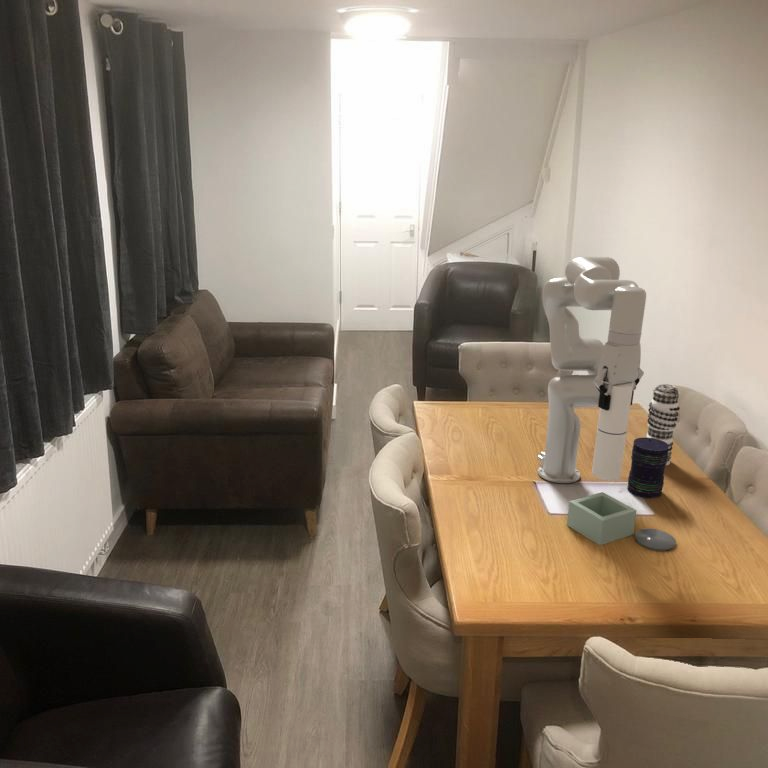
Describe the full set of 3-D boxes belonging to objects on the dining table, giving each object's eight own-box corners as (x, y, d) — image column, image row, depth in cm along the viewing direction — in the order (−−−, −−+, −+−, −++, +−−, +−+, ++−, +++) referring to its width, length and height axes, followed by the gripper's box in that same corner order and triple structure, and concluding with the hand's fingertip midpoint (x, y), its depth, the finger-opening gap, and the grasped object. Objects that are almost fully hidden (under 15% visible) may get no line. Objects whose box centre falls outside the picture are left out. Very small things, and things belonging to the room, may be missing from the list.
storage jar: (664, 500, 224) (671, 452, 219) (628, 496, 225) (635, 448, 221) (659, 485, 233) (666, 439, 228) (625, 482, 235) (631, 435, 230)
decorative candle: (667, 455, 255) (678, 382, 247) (674, 467, 246) (686, 392, 238) (638, 453, 255) (648, 381, 248) (644, 465, 247) (655, 390, 239)
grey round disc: (626, 536, 203) (626, 534, 202) (653, 528, 208) (653, 525, 207) (656, 554, 195) (657, 551, 194) (683, 545, 199) (684, 542, 199)
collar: (566, 525, 208) (569, 501, 206) (599, 515, 214) (602, 492, 212) (599, 545, 198) (602, 520, 196) (633, 534, 204) (636, 510, 202)
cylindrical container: (600, 481, 197) (613, 388, 189) (586, 469, 204) (597, 378, 196) (625, 479, 199) (639, 386, 191) (611, 467, 206) (623, 377, 198)
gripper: (637, 330, 197) (628, 396, 203) (586, 337, 188) (578, 407, 194) (661, 337, 191) (651, 405, 197) (609, 345, 182) (600, 416, 188)
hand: (615, 405), depth 195 cm, fingers closed on cylindrical container, 7 cm apart
